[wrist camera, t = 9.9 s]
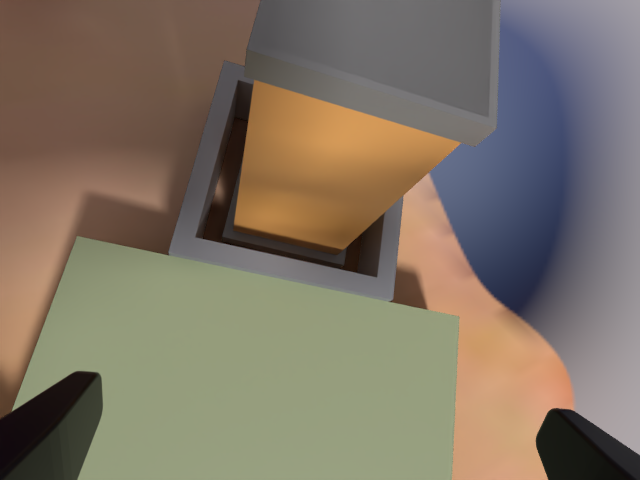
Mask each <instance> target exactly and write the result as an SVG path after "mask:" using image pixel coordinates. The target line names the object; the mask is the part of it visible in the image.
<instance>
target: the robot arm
mask: <svg viewBox="0 0 640 480" xmlns="http://www.w3.org/2000/svg"><path fill="white" fill-rule="evenodd" d="M102 411H103V394H102V378H101V375H100V374H99V373H98V372H90V371H75V372H73V373H71V374H70V375H68V376H67V377H65V378H63V379H62V380H60V381H59V382H57V383H56V384H54V385H52V386H51V387H49V388H48V389H46V390H45V391H43V392H41V393H40V394H38V395H37V396H35V397H34V398H32V399H30V400H29V401H27V402H26V403H24V404H23V405H21V406H20V407H18V408H16V409H15V410H13V411H12V412H10V413H9V414H7V415H5V416H4V417H2V418H1V419H0V480H77V479H78V477H79V474H80V472H81V469H82V466H83V464H84V461H85V458H86V456H87V453H88V451H89V448H90V445H91V443H92V440H93V438H94V435H95V432H96V430H97V427H98V425H99V422H100V419H101V416H102ZM536 447H537V450H538V453H539V456H540V458H541V461H542V464H543V466H544V469H545V472H546V475H547V477H548V480H640V455H639V454H637V453H635V452H634V451H632V450H631V449H630V448H628V447H627V446H625V445H623V444H622V443H621V442H619V441H618V440H616V439H615V438H613V437H612V436H610V435H609V434H607V433H606V432H604V431H603V430H601V429H600V428H599V427H597V426H596V425H594V424H593V423H591V422H590V421H588V420H587V419H585V418H584V417H582V416H581V415H579V414H578V413H576V412H575V411H573V410H569V409H559V408H553V409H551V410H550V411H549V412H548V413H547V415H546V417H545V419H544V421H543V423H542V425H541V427H540V429H539V432H538V434H537V436H536Z"/></svg>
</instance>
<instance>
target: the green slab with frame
mask: <svg viewBox="0 0 640 480" xmlns="http://www.w3.org/2000/svg"><path fill="white" fill-rule="evenodd" d="M244 70H245V66H241V65H238V64H235V63H231V62H228V61H225V60H224V63H223V67H222V70H221V73H220V77H219V80H218V84H217V87H216V91H215V94H214V97H213V101H212V104H211V108H210V111H209V114H208V118H207V121H206V125H205V128H204V132H203V135H202V138H201V142H200V145H199V149H198V152H197V156H196V159H195V162H194V166H193V169H192V173H191V176H190V180H189V183H188V186H187V190H186V193H185V197H184V200H183V204H182V207H181V210H180V214H179V217H178V221H177V224H176V227H175V231H174V234H173V238H172V241H171V245H170V248H169V251H168V253H169V255H165V254H160V253H155V252H151V251H146V250H141V249H136V248H132V247H127V246H122V245H117V244H113V243H108V242H103V241H98V240H94V239H89V238H84V237H79V236H77V237H76V240H75V243H74V246H73V248H72V251H71V254H70V256H69V259H68V262H67V264H66V267H65V270H64V272H63V275H62V278H61V280H60V283H59V286H58V288H57V291H56V294H55V296H54V299H53V302H52V304H51V307H50V310H49V313H48V315H47V318H46V321H45V323H44V326H43V329H42V331H41V334H40V337H39V339H38V342H37V345H36V347H35V350H34V353H33V355H32V358H31V361H30V363H29V366H28V369H27V371H26V374H25V377H24V379H23V382H22V385H21V388H20V390H19V393H18V396H17V398H16V401H15V404H14V406H13V409H12V411H13V410H15V409H16V408H18V407H20V406H21V405H23V404H24V403H26V402H27V401H29V400H30V399H32V398H34V397H35V396H37V395H38V394H40V393H41V392H43V391H45V390H46V389H48V388H49V387H51V386H52V385H54V384H56V383H57V382H59V381H60V380H62V379H63V378H65V377H67V376H68V375H70V374H71V373H73V372H75V371H90V372H98V373H99V374H100V375H101V378H102V394H103V411H102V416H101V419H100V422H99V425H98V427H97V430H96V432H95V435H94V438H93V440H92V443H91V445H90V448H89V451H88V453H87V456H86V458H85V461H84V464H83V466H82V469H81V472H80V474H79V477H78V479H77V480H452V464H453V443H454V421H455V400H456V378H457V357H458V335H459V316H454V315H449V314H445V313H440V312H435V311H430V310H426V309H421V308H416V307H411V306H407V305H402V304H397V303H393V302H389V301H391V300H393V295H394V285H395V275H396V265H397V255H398V245H399V235H400V225H401V216H402V206H403V196H404V195H403V196H402V197H401V198H400V199H399V200H398V201H397V202H395V203H394V204H393V205H392V206H391V207H390V208H389V209H388V210H387V211H386V212H384V213H383V214H382V215H381V216H380V217H379V218H378V219H377V220H376V221H375V222H373V223H372V224H371V225H370V226H369V227H368V228H367V229H366V230H365V231H364V232H362V239H361V247H360V254H359V262H358V269H357V273H354V272H350V271H345V270H341V269H336V268H332V267H327V266H323V265H318V264H314V263H309V262H305V261H300V260H295V259H291V258H286V257H282V256H277V255H273V254H268V253H264V252H259V251H255V250H250V249H246V248H241V247H237V246H232V245H228V244H223V243H219V242H214V241H209V240H205V239H202V238H203V235H204V231H205V227H206V223H207V220H208V216H209V212H210V208H211V205H212V201H213V197H214V193H215V190H216V186H217V182H218V178H219V175H220V171H221V167H222V163H223V160H224V156H225V152H226V148H227V145H228V141H229V137H230V133H231V130H232V126H233V122H234V118H235V117H236V118H239V119H243V120H247V121H248V120H249V113H250V106H251V99H252V92H253V85H254V80H253V79H250V78H247V77H244Z"/></svg>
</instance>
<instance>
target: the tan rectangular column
mask: <svg viewBox="0 0 640 480" xmlns="http://www.w3.org/2000/svg"><path fill="white" fill-rule="evenodd" d="M500 2H501V1H500V0H261V1H260V5H259V8H258V12H257V15H256V19H255V22H254V26H253V29H252V32H251V36H250V39H249V43H248V46H247V51H246V61H245V70H244V77H247V78H250V79H253V80H254V85H253V92H252V99H251V106H250V113H249V120H248V128H247V135H246V142H245V149H244V155H243V159H242V163H241V166H240V170H239V174H238V178H237V182H236V186H235V189H234V193H233V197H232V201H231V205H230V208H229V212H228V216H227V220H226V224H225V227H224V231H223V235H222V242H225V243H230V244H234V245H238V246H243V247H247V248H251V249H256V250H260V251H264V252H269V253H273V254H277V255H282V256H286V257H290V258H294V259H299V260H303V261H307V262H312V263H316V264H320V265H325V266H329V267H333V268H338V269H340V268H341V267H342V266H344V262H345V256H346V249H347V246H348V245H349V244H350V243H351V242H353V241H354V240H355V239H356V238H357V237H358V236H359V235H360V234H361V233H362V232H364V231H365V230H366V229H367V228H368V227H369V226H370V225H371V224H372V223H373V222H375V221H376V220H377V219H378V218H379V217H380V216H381V215H382V214H383V213H384V212H386V211H387V210H388V209H389V208H390V207H391V206H392V205H393V204H394V203H395V202H397V201H398V200H399V199H400V198H401V197H402V196H403V195H404V194H405V193H406V192H408V191H409V190H410V189H411V188H412V187H413V186H414V185H415V184H416V183H418V182H419V181H420V180H421V179H422V178H423V177H424V176H425V175H426V174H427V173H429V172H430V171H431V170H432V169H433V168H434V167H435V166H436V165H437V164H438V163H439V162H441V161H442V160H443V159H444V158H445V157H446V156H447V155H448V154H449V153H450V152H452V151H453V149H455V148H456V147H457V146H458V145H459V144H460V143H464V144H467V145H470V146H474V147H475V146H476V145H478V144H479V143H480V142H481V141H482V140H483V139H485V138H486V137H487V136H488V135H489V134H491V133H492V132H493V131H494V130H495V129H496V128H497V101H498V69H499V36H500V34H499V33H500Z"/></svg>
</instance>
